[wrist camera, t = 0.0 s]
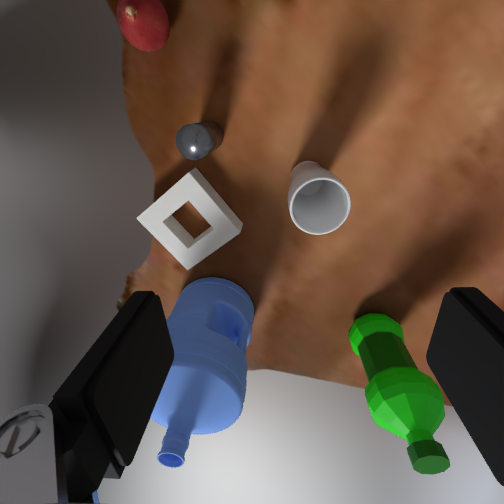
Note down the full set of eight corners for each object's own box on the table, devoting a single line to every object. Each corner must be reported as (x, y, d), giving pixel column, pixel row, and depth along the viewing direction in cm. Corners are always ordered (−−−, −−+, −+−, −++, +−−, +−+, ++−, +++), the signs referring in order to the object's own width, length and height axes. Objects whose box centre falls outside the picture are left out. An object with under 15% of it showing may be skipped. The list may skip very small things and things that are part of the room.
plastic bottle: (335, 335, 58) (372, 476, 36) (357, 297, 53) (416, 431, 31) (380, 348, 58) (444, 493, 36) (406, 310, 54) (498, 452, 31)
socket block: (146, 210, 48) (136, 218, 45) (195, 167, 44) (188, 172, 41) (193, 259, 52) (187, 270, 48) (242, 223, 48) (240, 232, 44)
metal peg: (191, 133, 42) (169, 139, 33) (211, 114, 41) (192, 116, 32) (209, 155, 43) (192, 166, 34) (228, 138, 42) (215, 145, 33)
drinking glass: (278, 165, 43) (279, 190, 30) (321, 147, 41) (342, 165, 28) (293, 204, 46) (300, 243, 32) (333, 189, 44) (358, 224, 31)
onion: (134, 51, 38) (101, 37, 31) (134, -4, 35) (98, -33, 28) (176, 60, 38) (153, 49, 31) (179, 6, 35) (155, -19, 28)
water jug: (188, 337, 61) (129, 491, 37) (170, 277, 54) (82, 418, 30) (258, 334, 59) (245, 496, 35) (249, 272, 52) (224, 418, 28)
